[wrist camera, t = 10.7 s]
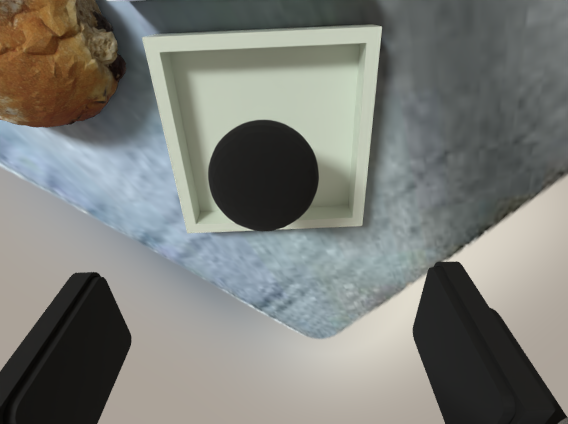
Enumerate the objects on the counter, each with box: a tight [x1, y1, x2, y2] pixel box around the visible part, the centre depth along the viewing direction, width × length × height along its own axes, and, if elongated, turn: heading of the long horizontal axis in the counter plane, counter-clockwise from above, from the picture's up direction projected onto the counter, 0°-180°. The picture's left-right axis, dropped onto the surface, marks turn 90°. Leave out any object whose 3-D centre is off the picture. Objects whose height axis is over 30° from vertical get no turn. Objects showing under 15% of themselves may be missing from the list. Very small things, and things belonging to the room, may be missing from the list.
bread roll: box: [0, 0, 126, 127], centre depth 19 cm, size 10×10×8 cm
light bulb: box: [208, 120, 319, 231], centre depth 20 cm, size 6×6×10 cm
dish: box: [142, 24, 382, 233], centre depth 24 cm, size 14×14×2 cm
